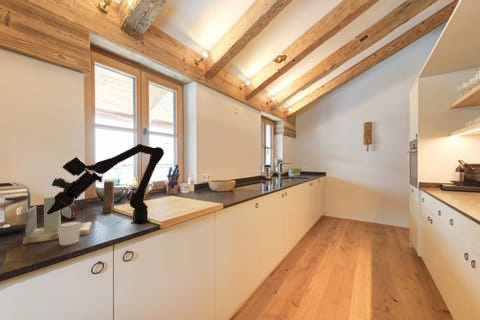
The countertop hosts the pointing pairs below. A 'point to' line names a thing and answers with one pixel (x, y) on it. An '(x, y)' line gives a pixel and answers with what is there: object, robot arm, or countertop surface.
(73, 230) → the white cup
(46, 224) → the sage block
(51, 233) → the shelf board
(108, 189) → the wooden block
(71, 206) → the tin
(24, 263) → the countertop surface
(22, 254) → the countertop surface
